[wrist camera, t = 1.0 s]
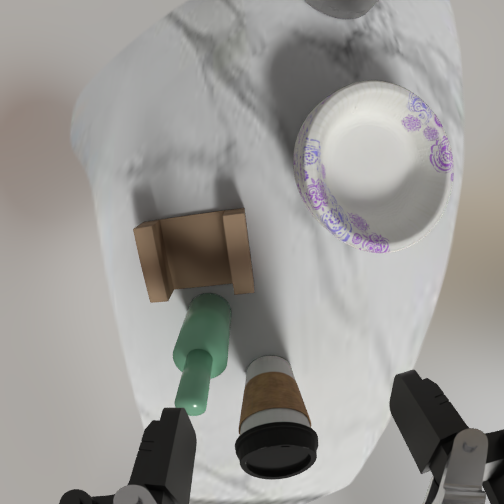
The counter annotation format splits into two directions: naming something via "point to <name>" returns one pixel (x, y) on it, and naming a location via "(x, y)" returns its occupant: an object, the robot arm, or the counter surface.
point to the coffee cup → (274, 423)
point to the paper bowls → (374, 166)
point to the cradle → (195, 253)
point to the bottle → (201, 350)
